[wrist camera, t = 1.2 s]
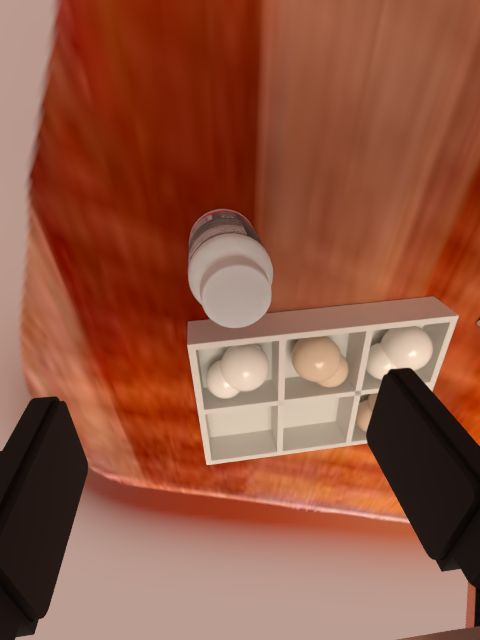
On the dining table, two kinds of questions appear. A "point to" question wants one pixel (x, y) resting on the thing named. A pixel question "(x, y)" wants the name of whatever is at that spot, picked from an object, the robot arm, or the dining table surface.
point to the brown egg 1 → (319, 361)
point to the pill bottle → (229, 269)
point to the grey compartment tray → (296, 392)
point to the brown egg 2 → (365, 412)
